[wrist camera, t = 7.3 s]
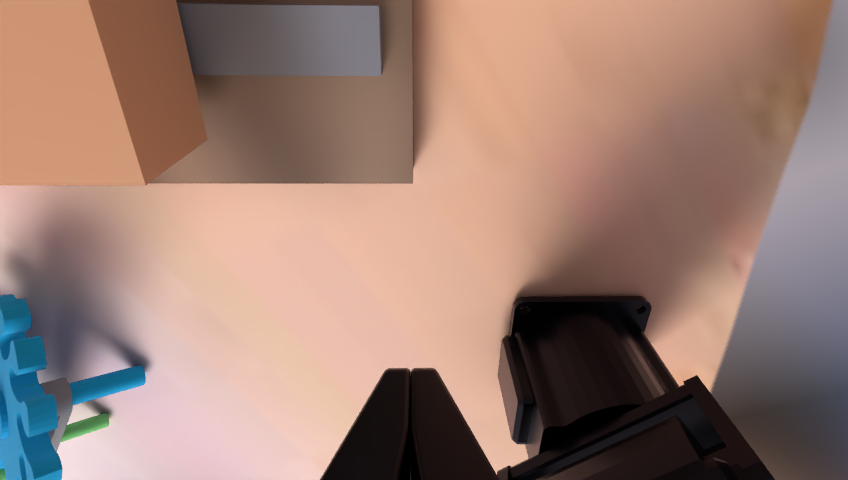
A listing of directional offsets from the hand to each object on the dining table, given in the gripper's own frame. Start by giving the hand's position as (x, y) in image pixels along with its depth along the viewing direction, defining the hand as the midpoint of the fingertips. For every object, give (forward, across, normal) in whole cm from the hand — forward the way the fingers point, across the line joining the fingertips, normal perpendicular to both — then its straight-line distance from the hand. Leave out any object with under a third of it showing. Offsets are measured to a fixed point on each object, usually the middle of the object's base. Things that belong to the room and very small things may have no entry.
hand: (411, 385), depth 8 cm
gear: (+12, +17, +10) cm, 24 cm away
